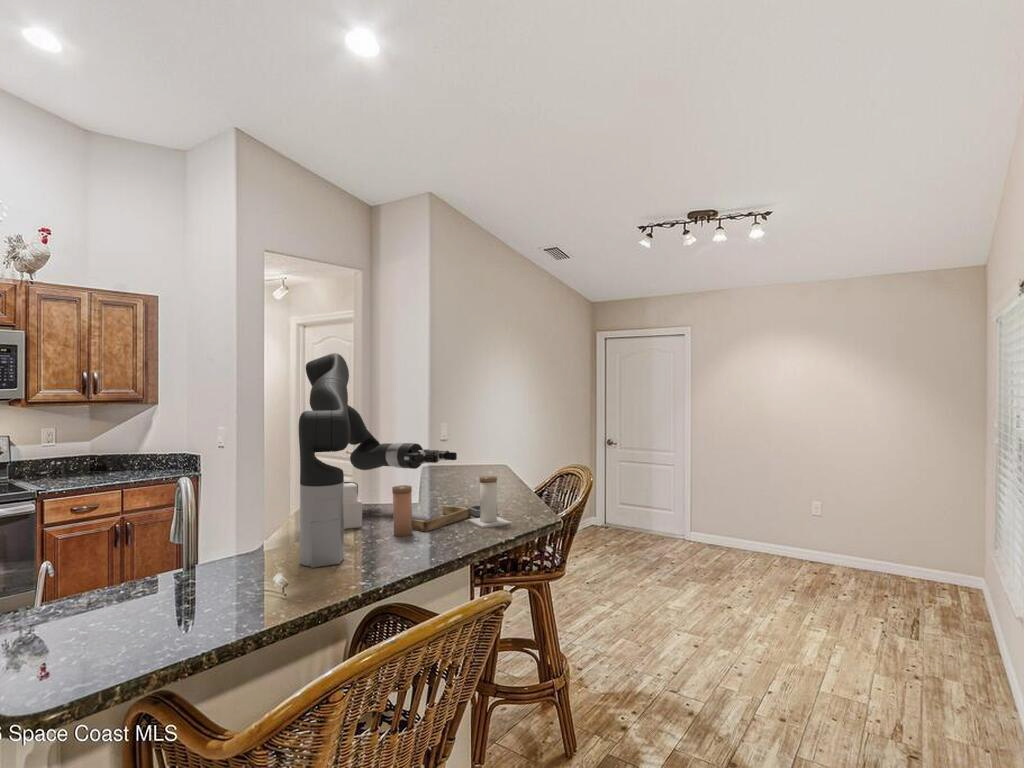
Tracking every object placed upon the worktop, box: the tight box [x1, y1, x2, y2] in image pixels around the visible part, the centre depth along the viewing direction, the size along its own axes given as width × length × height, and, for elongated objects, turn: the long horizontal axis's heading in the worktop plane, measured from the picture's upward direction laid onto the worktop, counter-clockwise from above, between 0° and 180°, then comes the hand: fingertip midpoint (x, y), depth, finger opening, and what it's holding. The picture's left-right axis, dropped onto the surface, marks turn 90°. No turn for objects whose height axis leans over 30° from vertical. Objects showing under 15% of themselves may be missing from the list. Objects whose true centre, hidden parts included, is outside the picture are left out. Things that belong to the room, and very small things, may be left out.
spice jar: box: [478, 475, 498, 522], centre depth 163 cm, size 5×5×12 cm
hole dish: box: [465, 504, 480, 518], centre depth 174 cm, size 7×7×2 cm
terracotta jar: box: [391, 484, 413, 537], centre depth 151 cm, size 5×5×12 cm
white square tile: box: [467, 515, 512, 529], centre depth 163 cm, size 9×9×1 cm
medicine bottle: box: [343, 481, 363, 530], centre depth 160 cm, size 7×7×12 cm
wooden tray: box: [412, 504, 471, 532], centre depth 164 cm, size 10×20×2 cm, turn 149°
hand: (446, 457), depth 166 cm, fingers open, 8 cm apart
